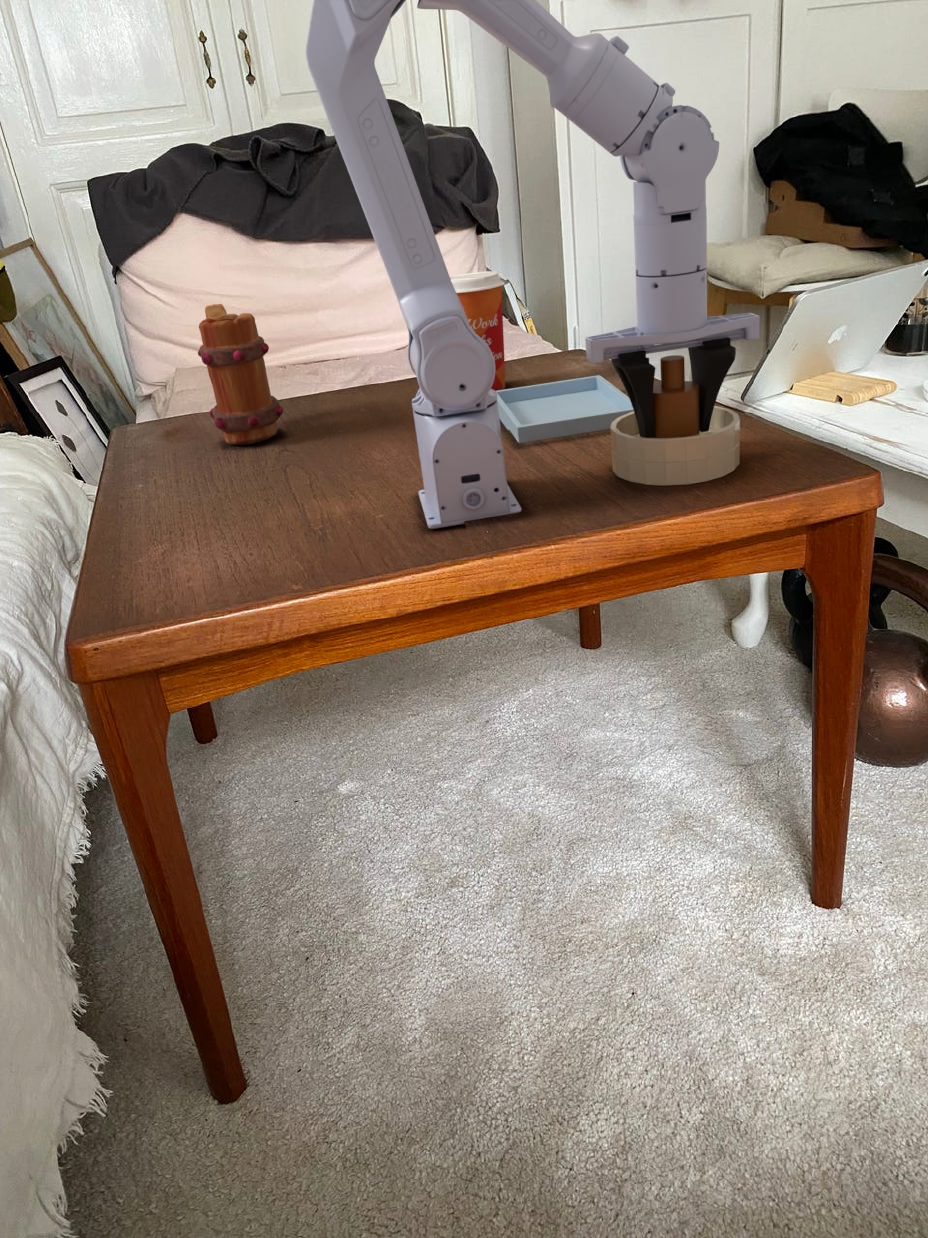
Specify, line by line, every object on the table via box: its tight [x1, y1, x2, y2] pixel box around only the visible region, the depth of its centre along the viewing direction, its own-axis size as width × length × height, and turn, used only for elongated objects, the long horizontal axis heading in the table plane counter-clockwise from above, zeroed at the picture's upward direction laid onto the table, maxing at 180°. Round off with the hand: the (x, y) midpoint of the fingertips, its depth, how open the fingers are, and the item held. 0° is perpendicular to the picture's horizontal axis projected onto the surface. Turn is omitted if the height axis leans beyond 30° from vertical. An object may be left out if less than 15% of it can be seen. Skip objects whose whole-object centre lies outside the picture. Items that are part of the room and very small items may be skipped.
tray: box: [496, 374, 634, 444], centre depth 105 cm, size 17×13×2 cm
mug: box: [197, 303, 284, 446], centre depth 112 cm, size 15×8×15 cm, turn 22°
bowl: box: [610, 405, 741, 487], centre depth 84 cm, size 11×11×4 cm
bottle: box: [653, 354, 700, 438], centre depth 83 cm, size 4×4×10 cm
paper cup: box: [450, 270, 506, 391], centre depth 119 cm, size 8×8×14 cm
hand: (674, 433), depth 84 cm, fingers closed on bottle, 4 cm apart
